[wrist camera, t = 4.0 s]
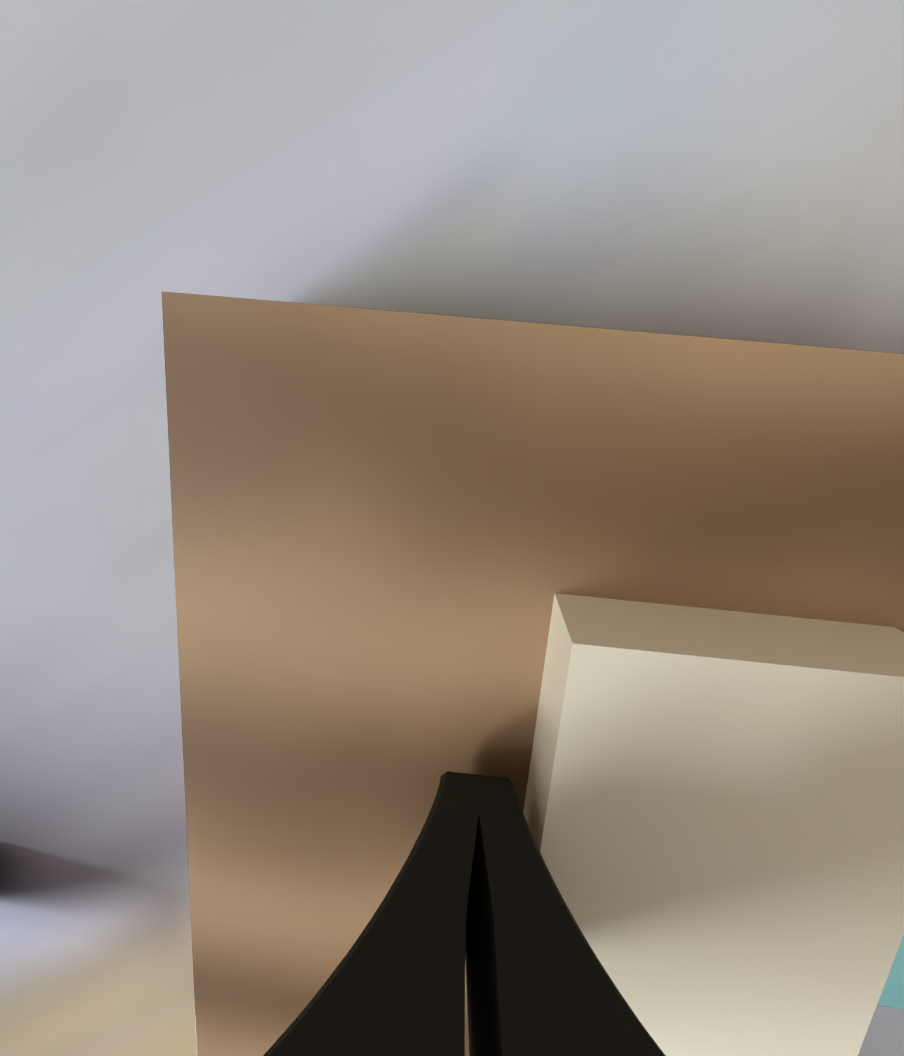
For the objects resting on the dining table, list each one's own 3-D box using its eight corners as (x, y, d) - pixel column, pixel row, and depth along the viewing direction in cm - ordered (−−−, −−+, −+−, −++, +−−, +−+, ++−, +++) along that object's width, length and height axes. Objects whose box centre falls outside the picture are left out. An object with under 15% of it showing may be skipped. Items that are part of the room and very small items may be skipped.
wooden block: (707, 975, 17) (774, 1150, 13) (261, 922, 17) (198, 1076, 13) (868, 372, 12) (1045, 365, 8) (258, 320, 13) (161, 292, 9)
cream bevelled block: (774, 1005, 12) (831, 1124, 10) (500, 972, 12) (503, 1084, 10) (894, 626, 10) (997, 686, 8) (554, 593, 10) (572, 643, 8)
